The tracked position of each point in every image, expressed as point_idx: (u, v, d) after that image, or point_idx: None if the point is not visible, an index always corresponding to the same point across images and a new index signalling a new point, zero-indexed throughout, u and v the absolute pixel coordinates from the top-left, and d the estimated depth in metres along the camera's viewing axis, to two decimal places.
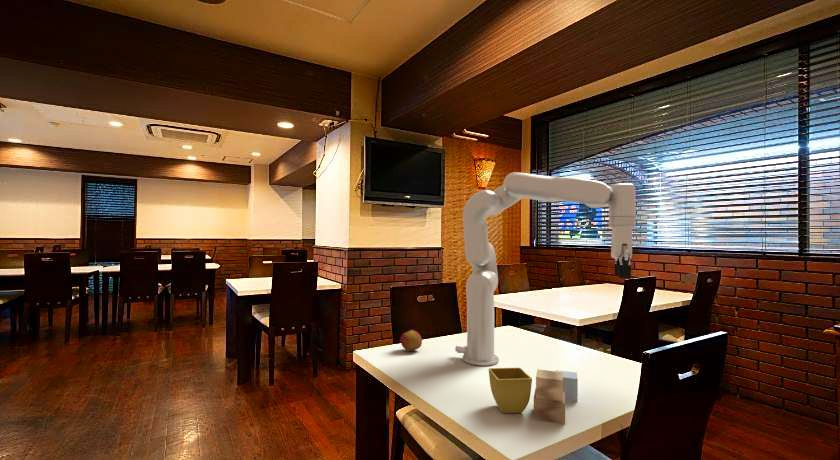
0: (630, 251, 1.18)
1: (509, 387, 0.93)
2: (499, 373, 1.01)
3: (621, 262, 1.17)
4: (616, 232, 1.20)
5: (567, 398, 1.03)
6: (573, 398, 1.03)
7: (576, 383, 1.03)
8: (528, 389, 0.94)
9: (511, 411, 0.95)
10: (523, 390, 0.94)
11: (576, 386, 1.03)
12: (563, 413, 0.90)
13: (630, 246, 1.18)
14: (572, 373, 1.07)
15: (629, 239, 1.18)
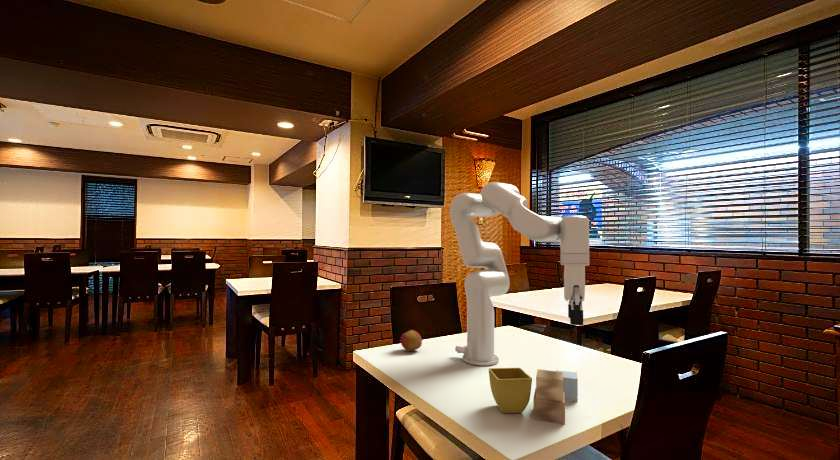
0: (582, 294, 1.03)
1: (509, 387, 0.93)
2: (499, 373, 1.01)
3: (572, 307, 1.03)
4: (567, 272, 1.05)
5: (567, 398, 1.03)
6: (573, 398, 1.03)
7: (576, 383, 1.03)
8: (528, 389, 0.94)
9: (511, 411, 0.95)
10: (523, 390, 0.94)
11: (576, 386, 1.03)
12: (562, 413, 0.90)
13: (582, 288, 1.03)
14: (572, 373, 1.07)
15: (581, 280, 1.04)
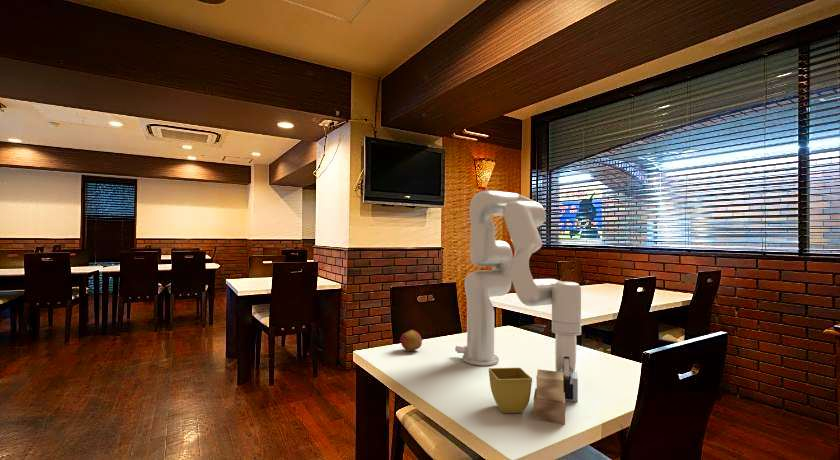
0: (573, 366, 1.01)
1: (509, 387, 0.93)
2: (499, 373, 1.01)
3: None
4: (557, 341, 1.03)
5: None
6: (573, 398, 1.03)
7: (576, 383, 1.03)
8: (528, 389, 0.94)
9: (511, 411, 0.95)
10: (523, 390, 0.94)
11: (576, 386, 1.03)
12: (563, 413, 0.90)
13: (573, 360, 1.01)
14: (572, 373, 1.07)
15: (572, 351, 1.01)
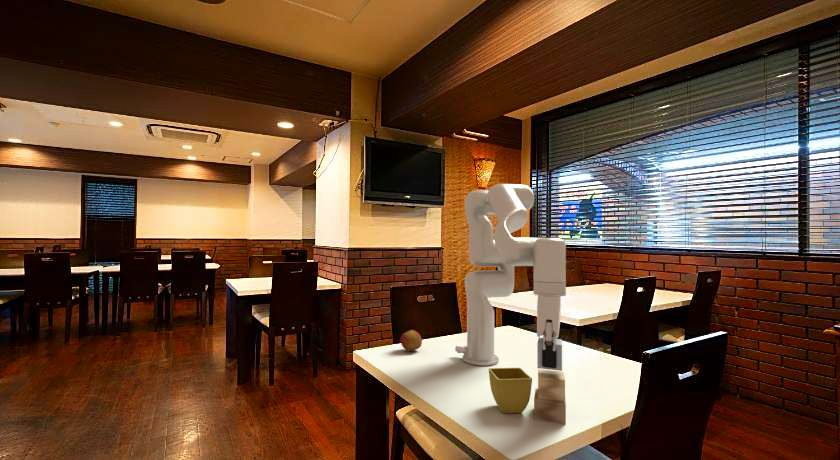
0: (556, 330, 0.90)
1: (509, 387, 0.93)
2: (499, 373, 1.01)
3: (544, 348, 0.91)
4: (539, 303, 0.92)
5: None
6: (557, 367, 0.91)
7: (560, 350, 0.91)
8: (528, 389, 0.94)
9: (511, 411, 0.95)
10: (523, 390, 0.94)
11: (560, 353, 0.91)
12: (563, 413, 0.90)
13: (556, 323, 0.90)
14: (557, 340, 0.95)
15: (555, 314, 0.90)
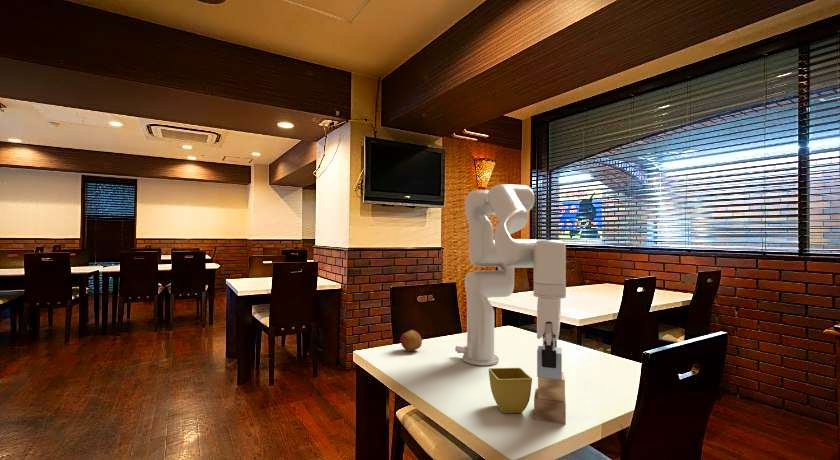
0: (556, 332, 0.90)
1: (509, 387, 0.93)
2: (499, 373, 1.01)
3: (543, 347, 0.89)
4: (539, 305, 0.91)
5: (550, 375, 0.92)
6: (557, 375, 0.91)
7: (560, 358, 0.91)
8: (528, 389, 0.94)
9: (511, 411, 0.95)
10: (523, 390, 0.94)
11: (560, 362, 0.91)
12: (563, 413, 0.90)
13: (556, 325, 0.90)
14: (556, 348, 0.95)
15: (555, 316, 0.90)
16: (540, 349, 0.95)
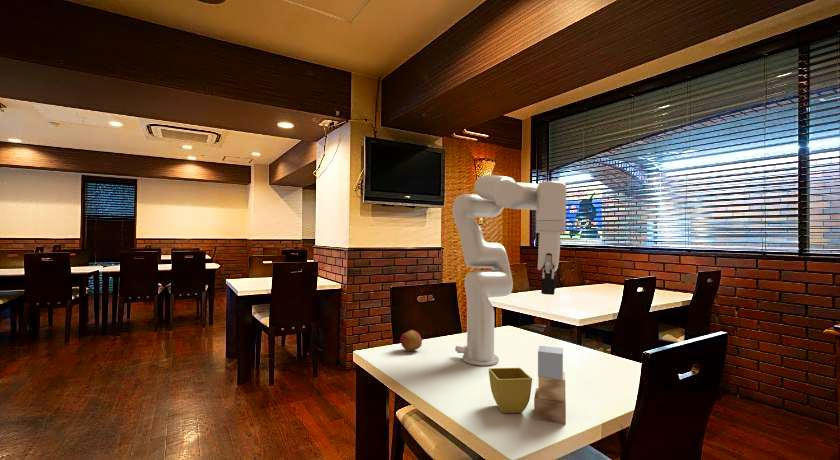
0: (555, 262, 0.99)
1: (509, 387, 0.93)
2: (499, 373, 1.01)
3: (543, 275, 0.99)
4: (540, 239, 1.01)
5: (551, 375, 0.92)
6: (557, 376, 0.91)
7: (561, 359, 0.91)
8: (528, 389, 0.94)
9: (511, 411, 0.95)
10: (523, 390, 0.94)
11: (561, 362, 0.91)
12: (563, 413, 0.90)
13: (555, 256, 0.99)
14: (557, 348, 0.95)
15: (554, 248, 0.99)
16: (541, 349, 0.94)
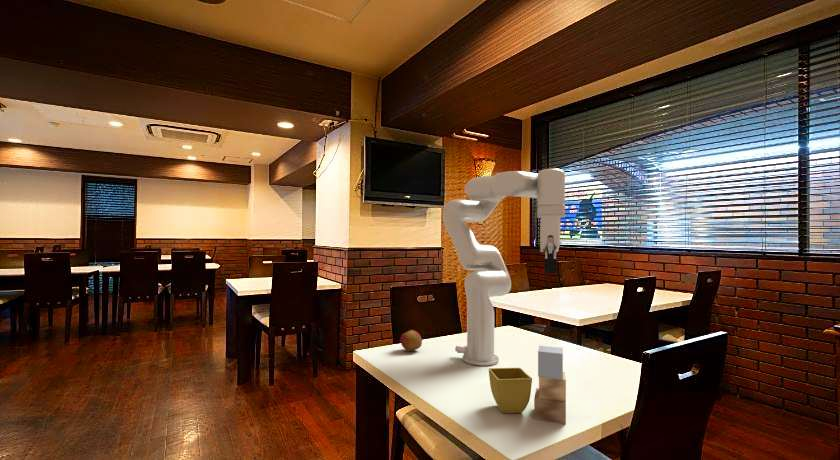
0: (556, 243, 1.06)
1: (509, 387, 0.93)
2: (499, 373, 1.01)
3: (546, 256, 1.06)
4: (542, 223, 1.08)
5: (551, 375, 0.92)
6: (558, 375, 0.91)
7: (561, 358, 0.91)
8: (528, 389, 0.94)
9: (511, 411, 0.95)
10: (523, 390, 0.94)
11: (561, 362, 0.91)
12: (563, 413, 0.90)
13: (556, 238, 1.06)
14: (557, 348, 0.95)
15: (555, 230, 1.06)
16: (541, 349, 0.95)
